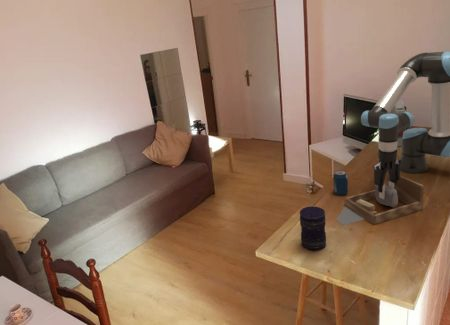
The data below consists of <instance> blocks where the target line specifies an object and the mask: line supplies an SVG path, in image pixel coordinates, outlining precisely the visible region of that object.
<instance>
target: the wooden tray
mask: <svg viewBox="0 0 450 325" xmlns="http://www.w3.org/2000/svg"><path fill="white" fill-rule="evenodd" d="M386 175H387V176H386V177H387V178H386V179H387V180H386V185H387V186H388V187H389V181H390V177H389V171H387V172H386ZM396 177H397V176H396ZM390 182H391V181H390ZM424 187H425V186H424V184H421V183H419V182H417V181H414V180H412V179H409V178H407V177H405V176H402V175H400V179H399V180H397V183H395V189H396V191H397V196H398V201H399V202H400V201H401V202H402V203H404V204H405V205H401V206H398V207H395V208H392V209H391V208H390V209H389V210H385V211H382V212H377V214H375V215H374V214H372V213H371V212H369V211H368V210H366V209H364V208H363V207H361V206H359V205H358V204H356V201H357V200H360V199H362V200H364V201H366V202H368V201H369V200H373V199H376V196H375V189H373V190H368V191H366V192H362V193H359V194H354V195H351V196H347V197H344V199H343V200H344V207H345V206H346V207H347V208H349V209H350V210H352V211H353V212H355V213H356V214H358V215H359V216H361V217H362V218H364V219H365V221H367V222H369V223H371V224H372V225H373V226H374V225H377V224H379V223H384V222H387V221H390V220H393V219H396V218H400V217H403V216H406V215H409V214H412V213H417V212H419V211H423V200H424V190H425V189H424Z"/></svg>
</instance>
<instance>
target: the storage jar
mask: <svg viewBox="0 0 450 325" xmlns="http://www.w3.org/2000/svg"><path fill="white" fill-rule="evenodd" d="M299 224H300V229H301V232H300V240H301V246H302V248H303V249H305V250H307V251H310V252H319V251H323V250H324V249H325V248H326V247H327V242H326V241H327V235H326V211H325V210H324V208H321V207H319V206H306V207H304V208H303V207H302V208H301V210H300V211H299Z"/></svg>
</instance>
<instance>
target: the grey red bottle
mask: <svg viewBox="0 0 450 325" xmlns="http://www.w3.org/2000/svg"><path fill="white" fill-rule="evenodd" d="M405 110H406V109H405V104H404V101H403V100H402V99H399V100H398V102H397V103H396V104H395V106H394V107H393V109H392V110H391V111H390V113H397V114H400V113H402V112H406V111H405ZM404 131H406V130H404ZM404 131H401V132H399V133H398V142H397V147H402V138H403V132H404Z"/></svg>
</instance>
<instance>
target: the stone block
mask: <svg viewBox="0 0 450 325" xmlns="http://www.w3.org/2000/svg"><path fill="white" fill-rule="evenodd" d="M384 186H385V199H382V198H380V197H379V192H378V186H377V185H375V184H374V190H375V196H376V198H375V199H376V201H377V202H378V203H379V204H380V205H384V206H386V207H391V208H392V209H394V208H397V206H398V203H399V199H398V196H397V191H396V189H392V188H390V187H388V186H387V183H384Z"/></svg>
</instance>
